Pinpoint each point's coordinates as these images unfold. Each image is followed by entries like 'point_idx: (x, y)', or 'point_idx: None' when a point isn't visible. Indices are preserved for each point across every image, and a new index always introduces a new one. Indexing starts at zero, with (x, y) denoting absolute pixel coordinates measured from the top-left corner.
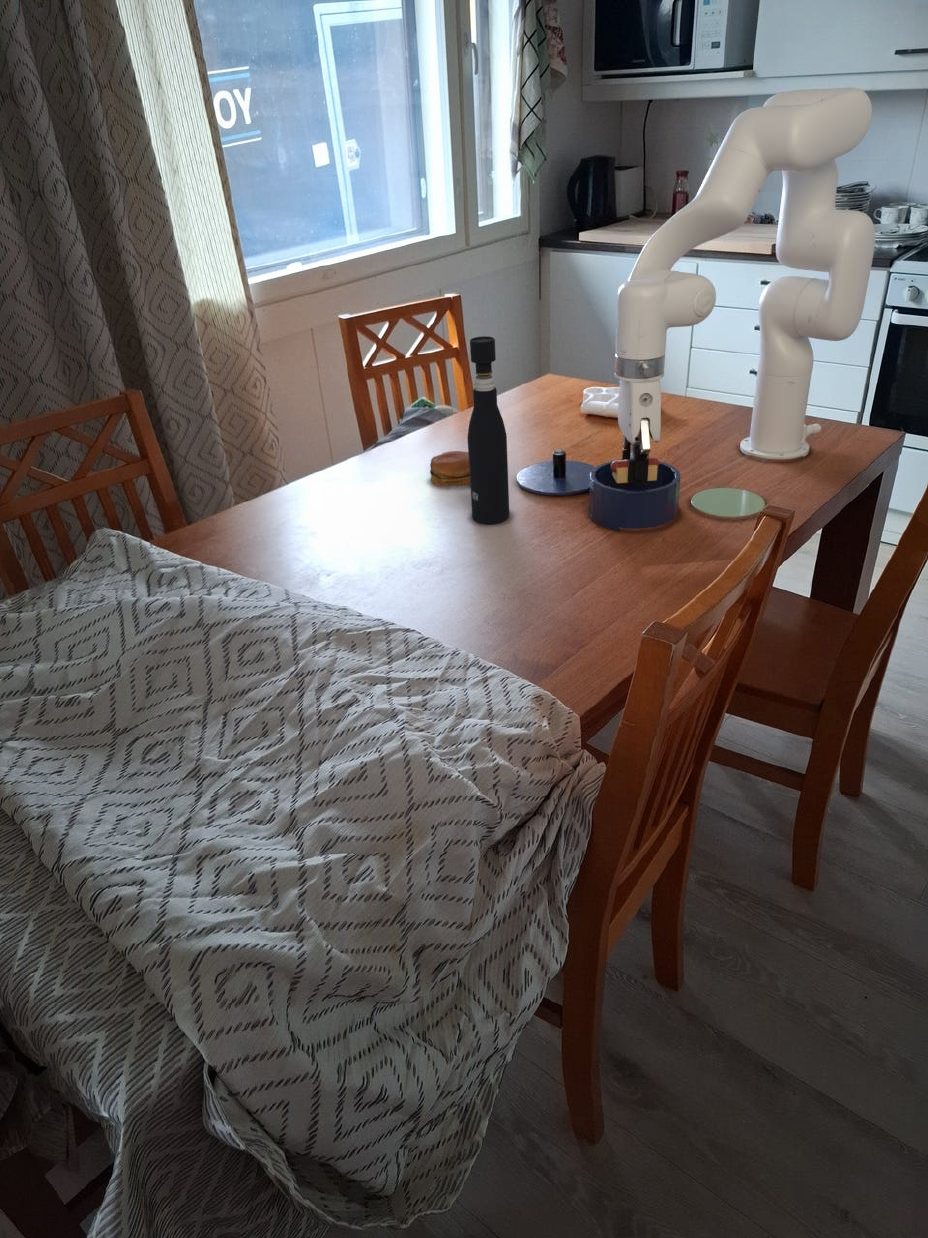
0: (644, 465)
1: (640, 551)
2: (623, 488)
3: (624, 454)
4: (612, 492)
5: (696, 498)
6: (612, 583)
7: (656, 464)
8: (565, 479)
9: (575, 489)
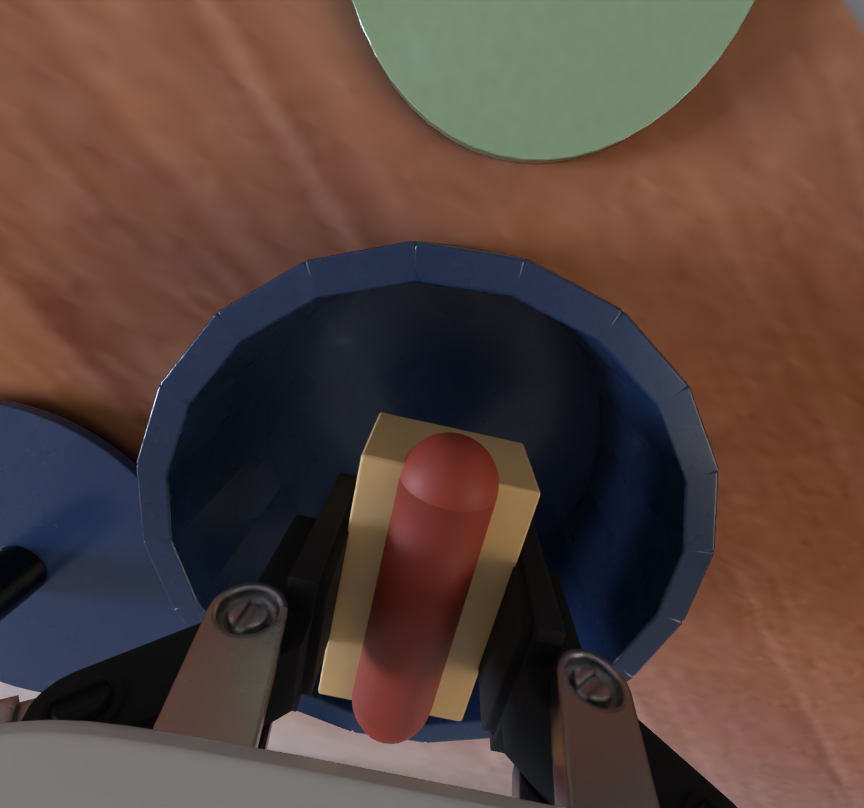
0: (576, 640)
1: (736, 547)
2: (254, 426)
3: (314, 680)
4: None
5: (435, 87)
6: (859, 692)
7: (497, 482)
8: (64, 561)
9: None
